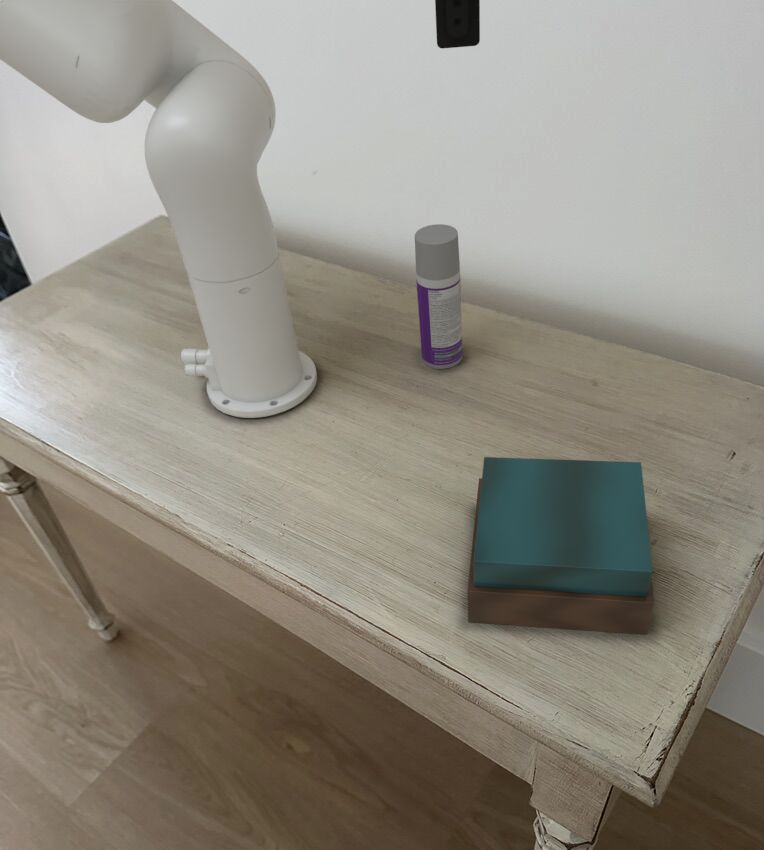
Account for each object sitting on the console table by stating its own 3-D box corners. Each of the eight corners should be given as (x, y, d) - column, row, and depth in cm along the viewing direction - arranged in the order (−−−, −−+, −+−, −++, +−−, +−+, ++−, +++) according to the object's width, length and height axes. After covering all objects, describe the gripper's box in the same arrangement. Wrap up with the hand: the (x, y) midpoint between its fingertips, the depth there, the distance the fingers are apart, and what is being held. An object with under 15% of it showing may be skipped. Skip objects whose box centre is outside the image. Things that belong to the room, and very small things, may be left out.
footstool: (468, 622, 65) (466, 566, 60) (479, 509, 73) (478, 452, 69) (646, 634, 62) (660, 577, 57) (635, 516, 71) (647, 458, 66)
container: (419, 348, 93) (410, 226, 83) (459, 343, 93) (455, 221, 83) (424, 371, 90) (416, 247, 79) (465, 366, 90) (462, 241, 79)
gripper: (403, -268, 58) (418, 3, 70) (384, -262, 45) (405, 65, 58) (507, -282, 57) (504, -4, 69) (516, -279, 45) (510, 57, 57)
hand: (459, 27), depth 63 cm, fingers open, 9 cm apart
